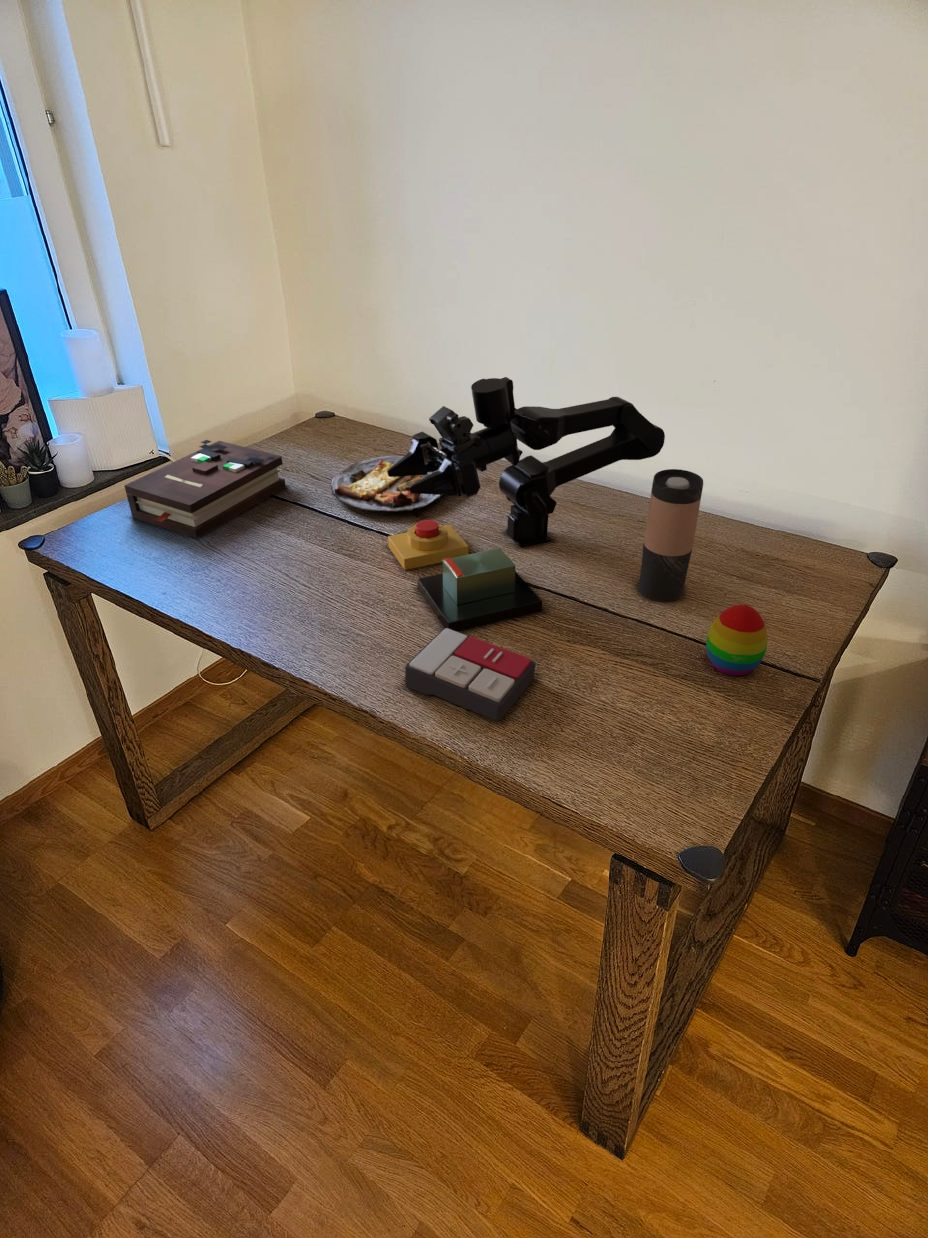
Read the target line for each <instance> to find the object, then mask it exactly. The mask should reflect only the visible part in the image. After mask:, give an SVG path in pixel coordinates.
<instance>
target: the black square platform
mask: <svg viewBox="0 0 928 1238" xmlns="http://www.w3.org/2000/svg"><path fill="white" fill-rule="evenodd" d="M416 581H417V584H416V585H417V591H419V593H420V595H421V596H422V597H423V599H424V600H425V601H426V603H427V605H428V606H429V608H430V609H431V611H432V612H433V613H434V615H435V617H436V618H437V619H438V620H439V622H440V623H441V625H442V626H443V627H444V628H448V629H451V630H453V631H456V632H461V631H465V630H470V629H475V628H478V627H483V626H487V625H491V624H495V623H500V622H503V621H507V620H511V619H512V620H513V619H516V618H520V617H524V616H529V615H532V614H537V613H540V612H541V613H542V611H543V600H542V599H541V597H540V596H539V595H538V594H537V593H536V592H535V591H534V590H533V589H532V588H531V587H530V586H529V584H528V583H527V582H526V581H525V580H524V578H522V577H521V575H519V573H518V572H517V571H516V570H515V591H514V592H512V593H508V594H503V595H499V596H495V597H490V598H486V599H481V600H477V601H473V602H468V603H464V604H460V605H457V604H456V603H455V602H454V600H453V599H452V598H451V596H450V595H449V594H448V592H447V591H446V590H445V588H444V587H443V572H442V573H437V574H433V575H428V576H424V577H419V578H418V577H417V580H416Z"/></svg>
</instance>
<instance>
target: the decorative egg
mask: <svg viewBox="0 0 928 1238" xmlns="http://www.w3.org/2000/svg"><path fill="white" fill-rule="evenodd" d="M705 643H706V644H705V648H706V654H707V657H708V659H709V662H710V663H711V664H712V666H713V667H714V668H715V669H716V670H717V671H718V672H720V673H722V674H726V675H729V676H734V677H735V676H736V677H737V676H738V677H739V676H744V675H748V674H749V673H751V672H752V671H754V670H755V669H757V667H758V666H759V665H760V664H761V663H762V661H763V659H764V657H765V655H766V653H767V649H768V631H767V627H766V624H765V621H764V619H763V617H762V616H761V614H760V613H759V612H758V611H757V610H756V609H755V608H754V607H752V606H750V605H749V604H741V603H740V604H734V605H732V606H729V607H728V608H727V609H725V610H723V611H722V612H721V613H719V615H718V616H717V617H716V618H715V619H714V620H713V622H712V624H711V626H710V627H709V629H708V633H707V636H706V641H705Z"/></svg>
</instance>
